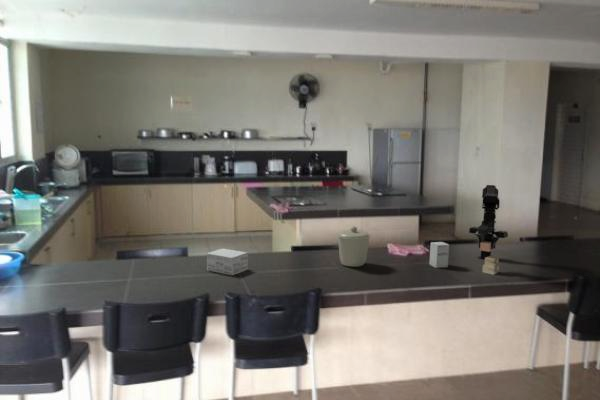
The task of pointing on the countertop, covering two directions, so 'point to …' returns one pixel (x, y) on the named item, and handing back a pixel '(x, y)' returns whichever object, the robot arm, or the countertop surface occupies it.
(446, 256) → the supplement box
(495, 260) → the tower mid
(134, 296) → the countertop surface
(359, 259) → the canister
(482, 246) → the terracotta block
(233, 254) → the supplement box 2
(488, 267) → the tower base
